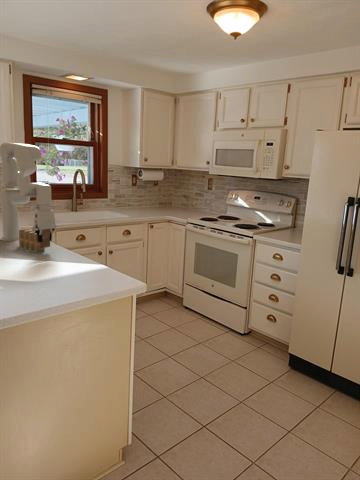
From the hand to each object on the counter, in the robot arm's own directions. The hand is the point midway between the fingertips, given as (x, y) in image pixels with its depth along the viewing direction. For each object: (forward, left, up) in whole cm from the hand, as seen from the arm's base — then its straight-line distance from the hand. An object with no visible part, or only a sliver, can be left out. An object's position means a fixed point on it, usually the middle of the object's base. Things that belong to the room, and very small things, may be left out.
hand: (44, 240), depth 198 cm
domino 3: (-10, -4, -7) cm, 12 cm away
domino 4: (-5, -2, -7) cm, 9 cm away
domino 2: (-14, -5, -7) cm, 17 cm away
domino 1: (-19, -7, -7) cm, 21 cm away
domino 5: (0, 0, -4) cm, 4 cm away
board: (-10, -4, -7) cm, 13 cm away
